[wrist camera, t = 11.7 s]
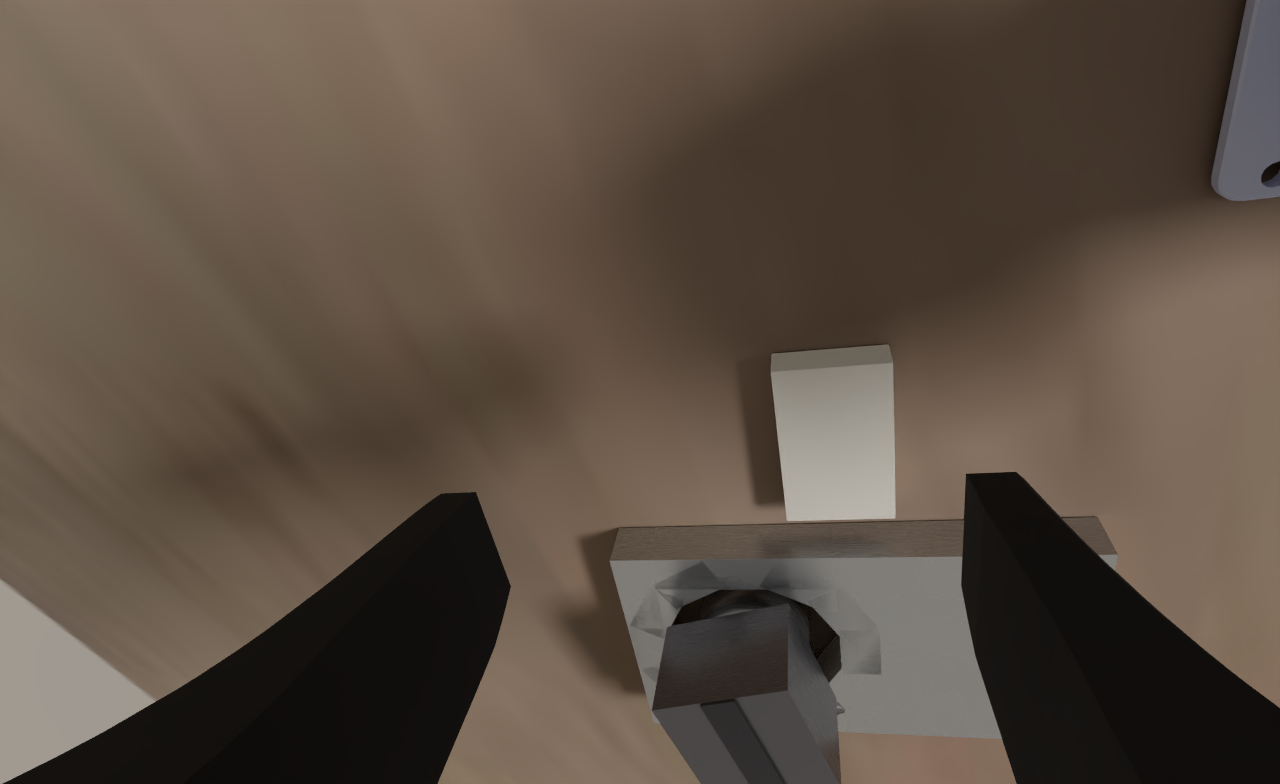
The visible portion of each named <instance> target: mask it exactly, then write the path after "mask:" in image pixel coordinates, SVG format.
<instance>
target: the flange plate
mask: <svg viewBox="0 0 1280 784" xmlns="http://www.w3.org/2000/svg"><path fill="white" fill-rule="evenodd" d="M1062 519H1063V520H1064V521H1065V522H1066V523H1067V524H1068V525H1069V526H1070V527H1071V528H1072V529H1073V530H1074V532H1075V533H1076V534H1077V535H1078V536H1079V537H1080V538H1081V539H1082V540H1083V541H1084V542H1085V543H1086V544H1087V545H1088V546H1089V547H1091V548H1092V549H1093V550H1094V551H1095V552H1096V553H1097V554H1098V555H1099V556H1100V557H1101V558H1102V559H1103V560H1104V561H1105V562H1106V563H1107V564H1108V565H1109V566H1110V567H1111V568H1113V569H1114V570H1115V568H1116V563H1117V557H1118V554H1117V552H1116V550H1115V548H1114V546H1113V544H1112V543H1111V541H1110V539H1109V537H1108V535H1107V533H1106V531H1105V529H1104V528H1103V526H1102V524H1101V522H1100V520H1099V518H1098V517H1081V518H1062ZM963 531H964V520H951V521H908V522H865V523H822V524H779V525H736V526H693V527H650V528H619V530H618V534H617V537H616V540H615V544H614V547H613V551H612V554H611V557H610V564H611V568H612V572H613V575H614V579H615V583H616V586H617V590H618V594H619V597H620V601H621V605H622V608H623V612H624V615H625V619H626V623H627V626H628V630H629V634H630V637H631V641H632V645H633V648H634V652H635V656H636V659H637V663H638V667H639V670H640V674H641V677H642V681H643V685H644V688H645V692H646V696H647V699H648V703H649V707H650V710H651V714H652V718H653V721H654V723H655V724H660V722H659V721H658V719H657V718H656V716H655V715H654V713H653V712H652V706H653V700H654V695H655V689H656V684H657V679H658V673H659V668H660V662H661V657H662V651H663V646H664V640H665V635H666V629H667V627H669V626H674V625H678V622H677V617H676V616H677V614H678V613H679V611H680V609H681V608H682V606H684V605H686V604H689V603H691V602H693V601H695V600H697V599H700V598H702V597H704V596H706V595H708V594H711V593H713V592H715V591H717V590H770V591H773V592H775V593H778V594H780V595H783V596H785V597H788V598H791V599H793V600H796V601H798V602H801V603H803V604H806V605H809V606H811V607H813V608H814V609H815V610H816V611H817V613H818V614H819V615H820V616H821V617H822V618H823V619H824V620H825V621H826V622H827V623H828V624H829V625H830V627H831V628H832V629H833V630H834V631H835V632H836V633H837V634H836V636H835V637H834V638H833V639H832V641H831V642H830V643H829V644H828V646H827V647H826V648H825V649H824V651H823V652H822V653H821V654H820V656H818V657H816V659H817V661H818V663H819V665H820V667H821V669H822V671H823V673H824V675H825V677H826V679H827V681H828V683H829V685H830V687H831V689H832V691H833V692H834V694H835V696H836V703H837V720H838V732H857V733H880V734H902V735H925V736H947V737H970V738H992V739H1002V737H1001V734H1000V731H999V728H998V725H997V722H996V719H995V716H994V713H993V710H992V706H991V703H990V700H989V697H988V694H987V691H986V688H985V685H984V682H983V679H982V676H981V672H980V669H979V666H978V663H977V660H976V657H975V652H974V648H973V643H972V638H971V633H970V628H969V624H968V618H967V613H966V608H965V603H964V598H963V593H962V587H961V575H962V553H963Z"/></svg>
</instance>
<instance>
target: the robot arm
mask: <svg viewBox="0 0 1280 784" xmlns="http://www.w3.org/2000/svg"><path fill="white" fill-rule="evenodd" d="M1279 161H1280V0H1247V1H1246V6H1245V11H1244V16H1243V21H1242V26H1241V31H1240V36H1239V41H1238V46H1237V51H1236V56H1235V61H1234V66H1233V71H1232V76H1231V81H1230V86H1229V91H1228V96H1227V101H1226V106H1225V111H1224V116H1223V121H1222V126H1221V131H1220V136H1219V141H1218V146H1217V151H1216V156H1215V161H1214V166H1213V171H1212V176H1211V185H1212V187H1213V189H1214V190H1215V192H1216V193H1218V194H1219V195H1221V196H1223V197H1225V198H1227V199H1229V200H1231V201H1247V200H1256V199H1265V198H1274V197H1280V171H1279V172H1278V174H1277V175H1276V176H1275V177H1274V178H1272V179H1271V180H1268V181H1265V182H1261V175H1262V173H1263V172H1264V170H1265V169H1266V168H1267V167H1268V166H1270V165H1271V164H1273V163H1276V162H1279ZM961 587H962V593H963V598H964V603H965V608H966V613H967V618H968V624H969V628H970V633H971V638H972V643H973V648H974V652H975V657H976V660H977V663H978V666H979V669H980V672H981V676H982V679H983V682H984V685H985V688H986V691H987V694H988V697H989V700H990V703H991V706H992V710H993V713H994V716H995V719H996V722H997V725H998V728H999V731H1000V734H1001V737H1002V740H1003V743H1004V746H1005V749H1006V752H1007V755H1008V758H1009V761H1010V764H1011V767H1012V771H1013V774H1014V777H1015V780H1016V783H1017V784H1280V708H1279V707H1278V706H1276V705H1275V704H1274V703H1272V702H1271V701H1270V700H1268V699H1267V698H1265V697H1264V696H1263V695H1261V694H1260V693H1259V692H1257V691H1256V690H1255V689H1253V688H1252V687H1251V686H1249V685H1248V684H1247V683H1245V682H1244V681H1243V680H1242V679H1240V678H1239V677H1238V676H1236V675H1235V674H1234V673H1233V672H1231V671H1230V670H1229V669H1228V668H1226V667H1225V666H1224V665H1223V664H1221V663H1220V662H1219V661H1218V660H1216V659H1215V658H1214V657H1213V656H1211V655H1210V654H1209V653H1208V652H1206V651H1205V650H1204V649H1203V648H1202V647H1200V646H1199V645H1198V644H1197V643H1196V642H1195V641H1193V640H1192V639H1191V638H1190V637H1189V636H1187V635H1186V634H1185V633H1184V632H1183V631H1182V630H1180V629H1179V628H1178V627H1177V626H1176V625H1174V624H1173V623H1172V622H1171V621H1170V620H1169V619H1167V618H1166V617H1165V616H1164V615H1163V614H1162V613H1161V612H1159V611H1158V610H1157V609H1156V608H1155V607H1154V606H1153V605H1152V604H1150V603H1149V602H1148V601H1147V600H1146V599H1145V598H1144V597H1143V596H1141V595H1140V594H1139V593H1138V592H1137V591H1136V590H1135V589H1134V588H1133V587H1132V586H1131V585H1130V584H1129V583H1128V582H1126V581H1125V580H1124V579H1123V578H1122V577H1121V576H1120V575H1119V574H1118V573H1117V572H1116V571H1115V570H1114V569H1113V568H1111V567H1110V566H1109V565H1108V564H1107V563H1106V562H1105V561H1104V560H1103V559H1102V558H1101V557H1100V556H1099V555H1098V554H1097V553H1096V552H1095V551H1094V550H1093V549H1092V548H1091V547H1089V546H1088V545H1087V544H1086V543H1085V542H1084V541H1083V540H1082V539H1081V538H1080V537H1079V536H1078V535H1077V534H1076V533H1075V532H1074V530H1073V529H1072V528H1071V527H1070V526H1069V525H1068V524H1067V523H1066V522H1065V521H1064V520H1063V519H1062V518H1061V517H1060V516H1059V515H1058V514H1057V513H1056V512H1055V511H1054V510H1053V509H1052V508H1051V507H1050V506H1049V505H1048V504H1047V503H1046V502H1045V501H1044V500H1043V498H1042V497H1041V496H1040V495H1039V494H1038V493H1037V492H1036V491H1035V490H1034V489H1033V488H1032V487H1031V486H1030V485H1029V484H1028V482H1027V481H1026V480H1025V479H1024V478H1022V477H1021V476H1020V475H1019V474H1018V473H1017V472H1003V473H976V474H966V486H965V509H964V531H963V553H962V575H961ZM510 588H511V586H510V583H509V580H508V578H507V575H506V572H505V570H504V567H503V564H502V561H501V559H500V556H499V553H498V551H497V548H496V545H495V543H494V540H493V537H492V535H491V532H490V529H489V527H488V524H487V521H486V519H485V516H484V513H483V510H482V508H481V505H480V502H479V500H478V497H477V494H476V492H471V493H445V494H440V495H439V496H437V497H436V498H434V499H433V500H432V501H430V502H429V503H427V504H426V505H425V506H423V507H422V508H421V509H420V510H418V511H417V512H416V513H414V514H413V515H412V516H411V517H409V518H408V519H407V520H406V521H404V522H403V523H402V524H401V525H399V526H398V527H397V528H396V529H395V530H393V531H392V532H391V533H390V534H388V535H387V536H386V537H385V538H384V539H382V540H381V541H380V542H379V543H377V544H376V545H375V546H374V547H373V548H371V549H370V550H369V551H368V552H366V553H365V554H364V555H363V556H361V557H360V558H359V559H358V560H357V561H355V562H354V563H353V564H352V565H350V566H349V567H348V568H347V569H345V570H344V571H343V572H342V573H341V574H339V575H338V576H337V577H336V578H334V579H333V580H332V581H331V582H329V583H328V584H327V585H325V586H324V587H323V588H322V589H320V590H319V591H318V592H316V593H315V594H314V595H312V596H311V597H310V598H308V599H307V600H306V601H304V602H303V603H302V604H300V605H299V606H298V607H296V608H295V609H294V610H293V611H291V612H290V613H289V614H287V615H286V616H285V617H283V618H282V619H281V620H279V621H278V622H277V623H275V624H274V625H273V626H271V627H270V628H269V629H267V630H266V631H265V632H263V633H262V634H260V635H259V636H258V637H256V638H255V639H253V640H252V641H250V642H249V643H248V644H246V645H245V646H243V647H242V648H240V649H239V650H237V651H236V652H234V653H233V654H231V655H230V656H228V657H227V658H225V659H224V660H222V661H221V662H219V663H218V664H216V665H215V666H213V667H212V668H210V669H209V670H207V671H205V672H204V673H202V674H201V675H199V676H198V677H196V678H195V679H193V680H191V681H190V682H188V683H187V684H185V685H183V686H182V687H180V688H179V689H177V690H175V691H173V692H172V693H170V694H168V695H167V696H165V697H163V698H161V699H160V700H158V701H156V702H155V703H153V704H151V705H149V706H148V707H146V708H144V709H143V710H141V711H139V712H137V713H136V714H134V715H132V716H131V717H129V718H127V719H126V720H124V721H122V722H120V723H118V724H117V725H115V726H114V727H112V728H110V729H108V730H107V731H105V732H103V733H101V734H99V735H97V736H95V737H94V738H92V739H90V740H88V741H86V742H84V743H82V744H80V745H79V746H76V747H75V748H73V749H71V750H69V751H67V752H65V753H63V754H61V755H59V756H57V757H56V758H54V759H52V760H50V761H48V762H46V763H44V764H41V765H39V766H38V767H36V768H33V769H32V770H29V771H27V772H25V773H23V774H21V775H19V776H17V777H16V778H13V779H12V780H10V781H7V782H5V783H3V784H437V783H438V781H439V778H440V776H441V774H442V771H443V769H444V767H445V764H446V762H447V760H448V757H449V755H450V753H451V750H452V748H453V745H454V743H455V741H456V738H457V736H458V734H459V731H460V729H461V727H462V724H463V722H464V719H465V717H466V715H467V712H468V710H469V708H470V705H471V703H472V701H473V698H474V696H475V694H476V691H477V689H478V686H479V684H480V681H481V679H482V677H483V674H484V672H485V669H486V667H487V664H488V662H489V659H490V657H491V654H492V652H493V649H494V647H495V644H496V640H497V637H498V633H499V630H500V626H501V623H502V619H503V616H504V612H505V608H506V604H507V600H508V596H509V592H510Z"/></svg>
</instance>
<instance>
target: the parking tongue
mask: <svg viewBox="0 0 1280 784" xmlns="http://www.w3.org/2000/svg"><path fill="white" fill-rule="evenodd" d="M771 380H772V389H773V398H774V407H775V416H776V425H777V435H778V444H779V453H780V462H781V471H782V480H783V489H784V498H785V507H786V517H787V521H805V520H846V519H887V518H895V450H894V383H893V360H892V356H891V352H890V348H889V344H886V345H873V346H861V347H848V348H836V349H823V350H811V351H798V352H786V353H773V354H771Z"/></svg>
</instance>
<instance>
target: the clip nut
mask: <svg viewBox="0 0 1280 784" xmlns="http://www.w3.org/2000/svg"><path fill="white" fill-rule="evenodd" d="M652 712H653V713H654V715H655V716H656V718H657V719H658V721H659V722H660V724H661V725H662V727H663V728H664V730H665V731H666V733H667V734H668V736H669V737H670V738H671V740H672V741H673V743H674V744H675V746H676V747H677V749H678V750H679V752H680V753H681V755H682V756H683V758H684V759H685V761H686V762H687V764H688V765H689V767H690V768H691V769H692V771H693V772H694V774H695V775H696V777H697V778H698V780H699V781H700V783H701V784H841V771H840V754H839V737H838V720H837V703H836V696H835V694H834V692H833V691H832V689H831V687H830V685H829V683H828V681H827V679H826V677H825V675H824V673H823V671H822V669H821V667H820V665H819V663H818V661H817V659H816V657H815V655H814V653H813V651H812V649H811V647H810V642H809V613H808V609H807V606H806V604H803V603H801V602H798V601H796V600H793V599H791V598H788V597H785V596H783V595H780V594H778V593H775V592H773V591H770V590H717V591H715V592H713V593H711V594H708V595H706V596H705V598H704V601H703V605H702V612H701V620H700V621H694V622H689V623H684V624H679V625H674V626H669V627H667V629H666V635H665V640H664V646H663V651H662V657H661V662H660V668H659V673H658V679H657V684H656V689H655V695H654V700H653V706H652Z"/></svg>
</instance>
